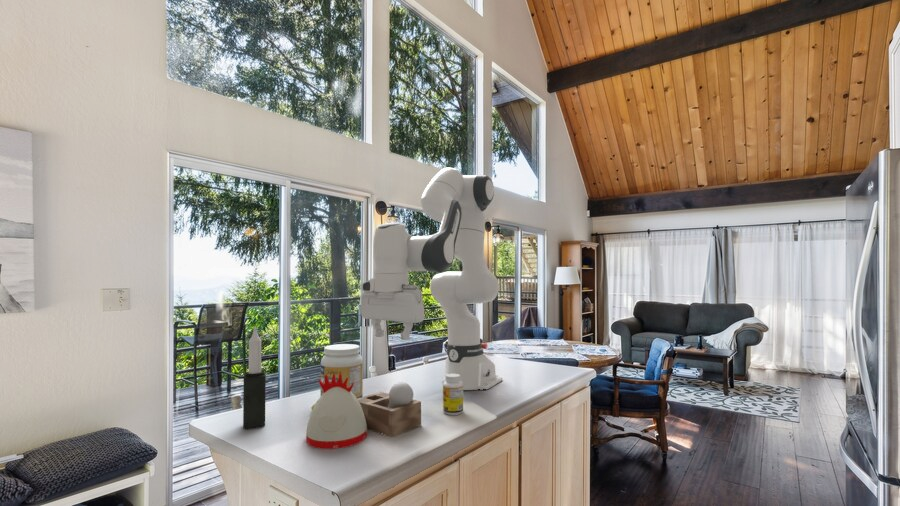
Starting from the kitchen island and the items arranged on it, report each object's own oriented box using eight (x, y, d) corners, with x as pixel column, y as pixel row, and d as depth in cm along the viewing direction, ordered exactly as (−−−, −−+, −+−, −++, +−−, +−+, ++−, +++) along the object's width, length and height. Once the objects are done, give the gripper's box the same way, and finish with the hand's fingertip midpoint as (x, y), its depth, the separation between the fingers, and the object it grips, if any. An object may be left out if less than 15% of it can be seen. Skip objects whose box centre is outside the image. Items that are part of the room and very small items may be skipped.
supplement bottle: (442, 409, 124) (442, 372, 124) (462, 409, 124) (462, 372, 125) (443, 416, 118) (443, 377, 119) (463, 415, 119) (463, 377, 119)
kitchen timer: (314, 427, 110) (314, 367, 111) (369, 426, 111) (369, 366, 112) (299, 450, 97) (299, 381, 97) (362, 447, 98) (362, 379, 98)
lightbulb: (394, 432, 109) (413, 395, 107) (373, 419, 110) (392, 383, 108) (401, 421, 115) (420, 386, 113) (381, 409, 116) (399, 374, 114)
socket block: (381, 413, 121) (380, 391, 121) (421, 425, 111) (421, 401, 112) (351, 423, 113) (351, 400, 113) (392, 437, 103) (392, 411, 104)
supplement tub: (311, 407, 127) (311, 348, 128) (339, 396, 138) (339, 342, 139) (343, 413, 122) (344, 351, 122) (371, 401, 133) (371, 344, 133)
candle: (243, 423, 114) (244, 326, 115) (265, 420, 116) (265, 325, 117) (242, 430, 109) (244, 328, 110) (265, 427, 111) (266, 327, 112)
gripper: (429, 284, 110) (430, 340, 110) (374, 283, 123) (374, 333, 122) (412, 285, 105) (413, 343, 105) (356, 284, 118) (357, 336, 117)
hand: (392, 338), depth 114 cm, fingers open, 8 cm apart
